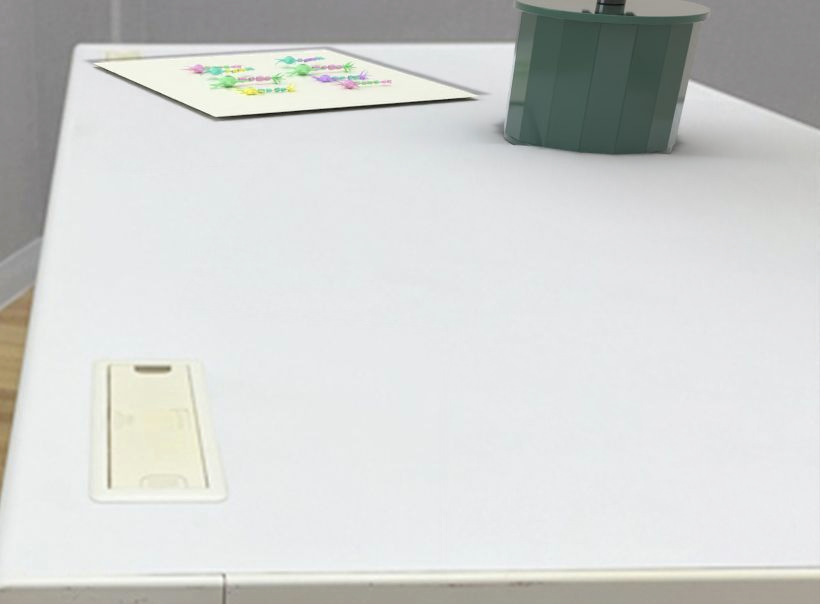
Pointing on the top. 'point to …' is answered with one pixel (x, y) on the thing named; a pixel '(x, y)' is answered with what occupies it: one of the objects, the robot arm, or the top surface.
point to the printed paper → (278, 82)
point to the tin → (598, 85)
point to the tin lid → (618, 11)
